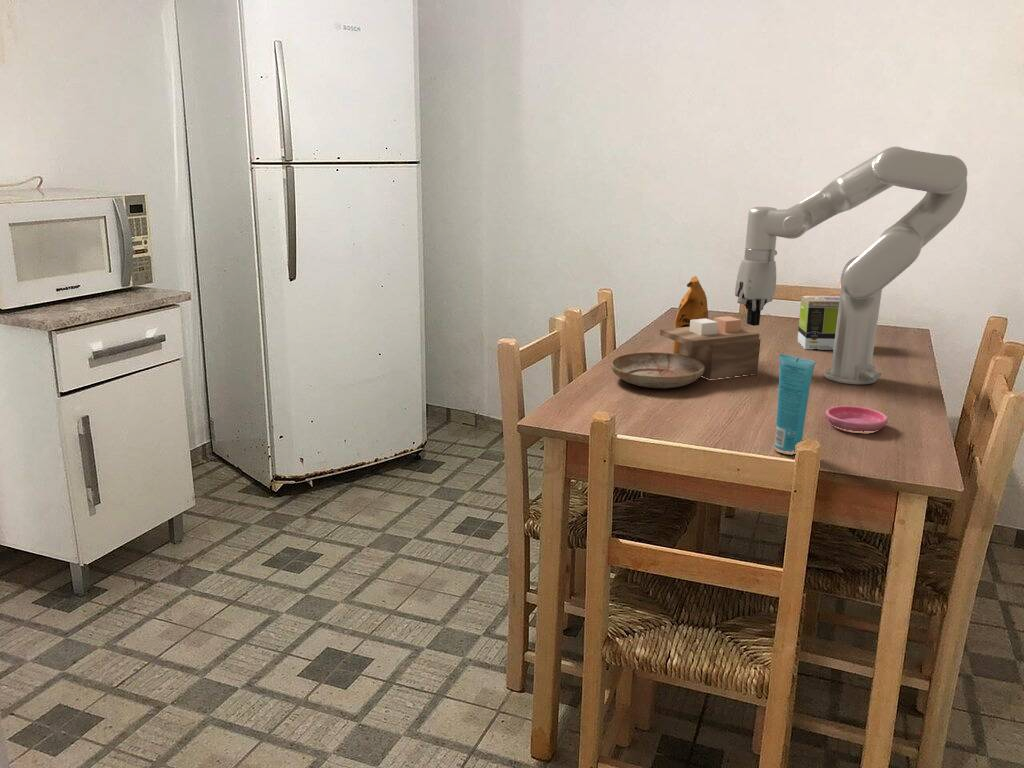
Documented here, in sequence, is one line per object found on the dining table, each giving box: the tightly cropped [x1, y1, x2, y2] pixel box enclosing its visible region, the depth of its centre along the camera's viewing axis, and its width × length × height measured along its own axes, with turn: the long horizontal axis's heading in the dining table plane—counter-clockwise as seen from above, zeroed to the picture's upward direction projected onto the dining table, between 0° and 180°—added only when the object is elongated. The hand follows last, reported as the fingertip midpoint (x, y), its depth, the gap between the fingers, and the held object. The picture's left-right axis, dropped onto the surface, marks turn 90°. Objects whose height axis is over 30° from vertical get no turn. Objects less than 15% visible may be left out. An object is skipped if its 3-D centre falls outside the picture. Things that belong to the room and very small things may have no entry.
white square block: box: [689, 318, 718, 335], centre depth 217 cm, size 5×5×3 cm
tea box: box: [797, 295, 840, 351], centre depth 248 cm, size 15×10×15 cm
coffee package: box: [672, 275, 709, 354], centre depth 235 cm, size 10×12×22 cm
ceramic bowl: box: [610, 351, 705, 389], centre depth 212 cm, size 23×24×5 cm
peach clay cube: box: [713, 315, 742, 333], centre depth 220 cm, size 5×5×3 cm
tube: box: [774, 353, 816, 452], centre depth 163 cm, size 7×5×19 cm, turn 47°
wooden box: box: [659, 327, 761, 379], centre depth 220 cm, size 14×22×11 cm, turn 114°
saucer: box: [824, 405, 889, 432], centre depth 180 cm, size 12×12×3 cm
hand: (752, 324), depth 224 cm, fingers closed
